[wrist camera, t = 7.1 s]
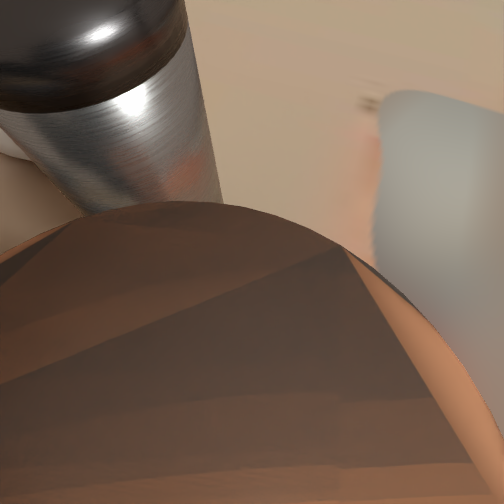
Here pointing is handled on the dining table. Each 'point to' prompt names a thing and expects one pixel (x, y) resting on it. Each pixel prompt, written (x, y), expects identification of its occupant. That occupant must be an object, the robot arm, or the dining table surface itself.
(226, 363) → the cylinder
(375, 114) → the dining table surface
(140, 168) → the cylinder
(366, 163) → the dining table surface
